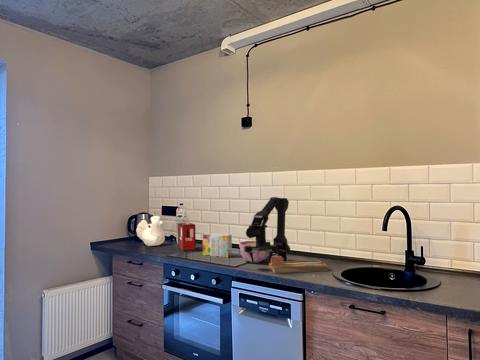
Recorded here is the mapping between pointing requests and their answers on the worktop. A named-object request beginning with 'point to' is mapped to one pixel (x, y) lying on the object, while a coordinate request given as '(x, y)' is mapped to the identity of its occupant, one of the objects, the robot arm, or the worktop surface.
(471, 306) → the worktop surface
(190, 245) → the cleaning product box
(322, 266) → the box
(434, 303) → the worktop surface
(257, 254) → the bowl of food
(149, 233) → the decorative rooster
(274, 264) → the block
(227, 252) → the snack box
